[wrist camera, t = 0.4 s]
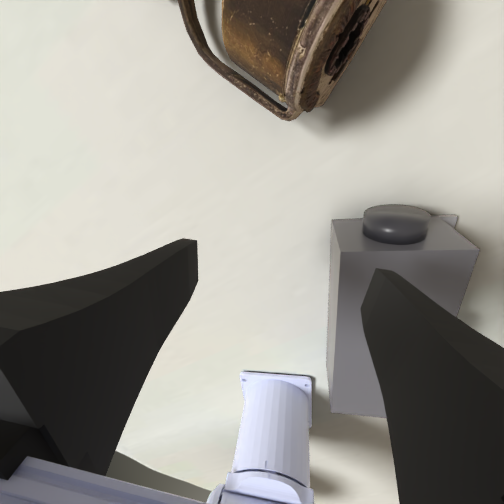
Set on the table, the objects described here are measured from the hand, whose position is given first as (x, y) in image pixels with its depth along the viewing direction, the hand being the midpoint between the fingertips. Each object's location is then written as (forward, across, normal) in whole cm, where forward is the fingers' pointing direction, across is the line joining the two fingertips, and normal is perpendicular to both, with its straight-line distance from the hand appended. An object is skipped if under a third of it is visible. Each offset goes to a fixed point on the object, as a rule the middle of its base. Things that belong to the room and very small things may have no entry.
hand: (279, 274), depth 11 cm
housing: (+10, -8, +8) cm, 15 cm away
